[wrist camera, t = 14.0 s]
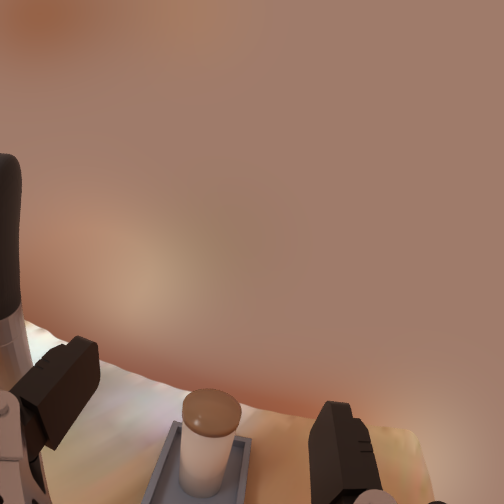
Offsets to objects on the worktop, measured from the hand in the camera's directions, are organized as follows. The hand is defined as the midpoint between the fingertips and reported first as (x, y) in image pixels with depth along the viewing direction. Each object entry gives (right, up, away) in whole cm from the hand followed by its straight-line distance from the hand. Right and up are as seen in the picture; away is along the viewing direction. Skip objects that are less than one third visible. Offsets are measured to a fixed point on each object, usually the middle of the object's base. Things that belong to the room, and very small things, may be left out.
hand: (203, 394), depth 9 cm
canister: (-5, -22, +19) cm, 30 cm away
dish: (-5, -23, +19) cm, 30 cm away
